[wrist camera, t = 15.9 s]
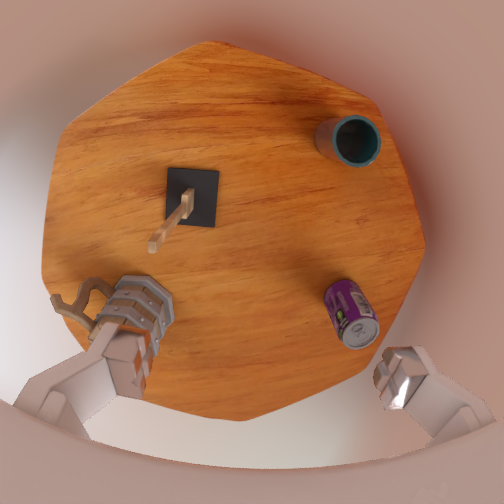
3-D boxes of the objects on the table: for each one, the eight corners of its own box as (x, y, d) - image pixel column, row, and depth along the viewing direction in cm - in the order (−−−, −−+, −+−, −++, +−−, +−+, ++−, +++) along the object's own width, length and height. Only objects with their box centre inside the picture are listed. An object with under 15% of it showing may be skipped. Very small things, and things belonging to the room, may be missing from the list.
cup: (317, 114, 40) (336, 110, 30) (356, 123, 40) (384, 122, 31) (311, 155, 42) (328, 161, 33) (351, 162, 43) (376, 171, 33)
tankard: (186, 306, 52) (169, 362, 39) (150, 339, 56) (129, 392, 42) (105, 234, 47) (61, 272, 33) (76, 277, 50) (37, 319, 36)
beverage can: (316, 291, 52) (332, 332, 41) (349, 270, 50) (373, 307, 39) (333, 316, 54) (350, 358, 43) (364, 297, 52) (387, 335, 41)
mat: (168, 167, 43) (167, 168, 42) (219, 171, 43) (218, 171, 42) (166, 222, 46) (165, 223, 46) (214, 226, 47) (214, 227, 46)
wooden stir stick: (188, 187, 43) (146, 229, 25) (194, 188, 43) (156, 230, 25) (187, 208, 45) (147, 263, 26) (193, 209, 45) (156, 264, 26)
